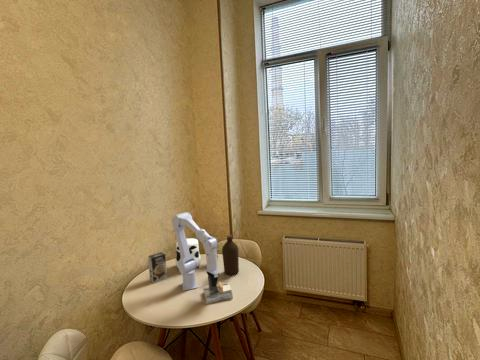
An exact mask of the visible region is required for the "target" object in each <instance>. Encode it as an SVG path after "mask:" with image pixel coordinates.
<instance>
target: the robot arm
mask: <svg viewBox="0 0 480 360" xmlns="http://www.w3.org/2000/svg"><path fill="white" fill-rule="evenodd" d="M171 222H172V223H171V224H172V226H173V227H172V228H173V230H174V233H175V238H176V242H178V246H179V250H180V254H181V258H180V260H179V262H178V263H179V268H178V272H179V273H180V274H181V276H182V283H181V286H182V291H188V290H194V289H197V288H198V286H197V282H196V273H195V271H196V269H197V268H198V267H197V262H196V260H195V258H194V256H192V255H190V252H189V248H188V244H187V240H186V239H187V237H186V232H185V230H184V229H185V227H186V226H187V227H188V228H189V229H190V230H191V231H192V232H193V233H194V234H195V237H196V239H197V240H198V241H199V242H200V243H201V244H202V247H203V250H204V254H205V258H206V268H204V271H205V272H206V273H207V277H208V276H209V277H210V279H211V283H212V286H213V287H215V286H217V285H218V282H219V281H218V280H219V277H220V272H219V267H218V261H217V255H218V254H217V253H218V251H217V249H216V248H217V246H218V245H219V240H218V239H217V237H215V236H211V235H210V234H209V233H208V232H207V231H206V229H204V228H200V227H199V226H198V224H197V223H196V222H195V221H194V220H193V217H192V214H190V212H189V211H184V212H182V213H178V214H174V215H173V216H172V218H171ZM218 247H219V246H218Z"/></svg>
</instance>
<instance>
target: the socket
mask: <svg viewBox="0 0 480 360" xmlns="http://www.w3.org/2000/svg"><path fill="white" fill-rule="evenodd" d="M221 284H222V286H224V285H229V283H221ZM202 290H203V296H204V298H205V303H206V305H208V304H213V303H217V302H221V301H227V300H233V297H234V296H233V291H227V292H222V293H221V292H220V289H219V284H217V290H213V291H210V289H209V286H208V287H203V288H202Z"/></svg>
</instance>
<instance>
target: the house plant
mask: <svg viewBox="0 0 480 360" xmlns="http://www.w3.org/2000/svg"><path fill="white" fill-rule="evenodd" d="M221 245H222V243H220V244H219V243H218V246H217V247H216V251H217V262H218V260H219V255H218V254H219V252H221V249H220V248H221V247H222V248H223V246H221Z"/></svg>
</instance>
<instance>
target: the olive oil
mask: <svg viewBox="0 0 480 360" xmlns="http://www.w3.org/2000/svg"><path fill="white" fill-rule="evenodd" d="M221 252H222V262H223V263H222V264H223V272H224V275H225V274H226V275H225V276H228V275H229V277H231V276H232V275H234V276H236V274H237V273H238V272H240V271H239V270H240V268H239V264H240V263H239V247H238V245H237V244H236V243H235V242H234V241H233V236H232V234H227V235H226V242H225V243H224V244H223V246H222V248H221ZM238 274H239V273H238ZM238 274H237V275H238ZM232 277H233V276H232Z"/></svg>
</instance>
